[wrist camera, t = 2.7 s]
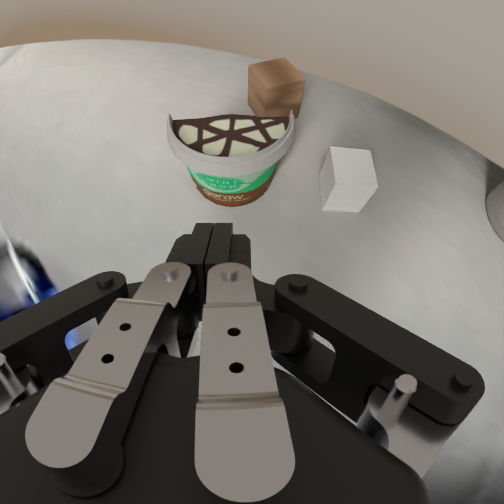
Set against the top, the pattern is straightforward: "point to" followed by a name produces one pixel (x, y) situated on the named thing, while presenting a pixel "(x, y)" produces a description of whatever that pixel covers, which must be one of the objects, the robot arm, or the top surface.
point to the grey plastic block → (347, 179)
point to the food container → (231, 153)
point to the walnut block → (275, 88)
